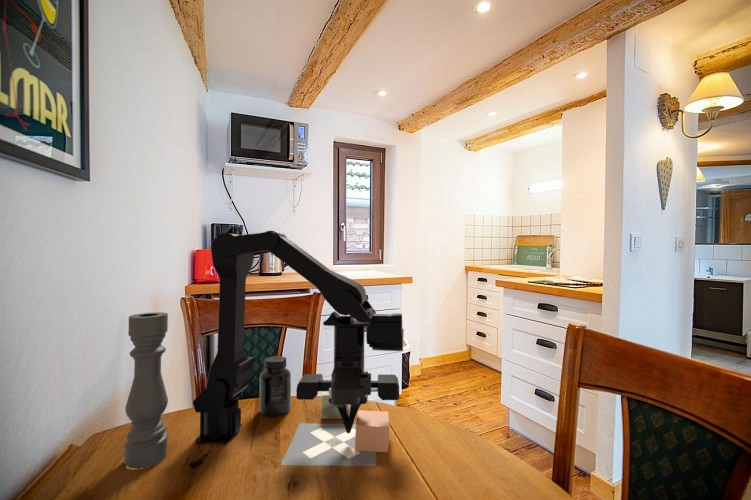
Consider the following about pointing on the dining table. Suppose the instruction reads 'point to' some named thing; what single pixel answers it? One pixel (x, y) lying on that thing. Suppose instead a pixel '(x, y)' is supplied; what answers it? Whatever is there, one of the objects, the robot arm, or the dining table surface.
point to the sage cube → (329, 408)
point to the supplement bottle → (275, 388)
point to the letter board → (326, 447)
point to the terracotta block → (372, 431)
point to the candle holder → (146, 392)
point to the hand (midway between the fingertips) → (348, 432)
